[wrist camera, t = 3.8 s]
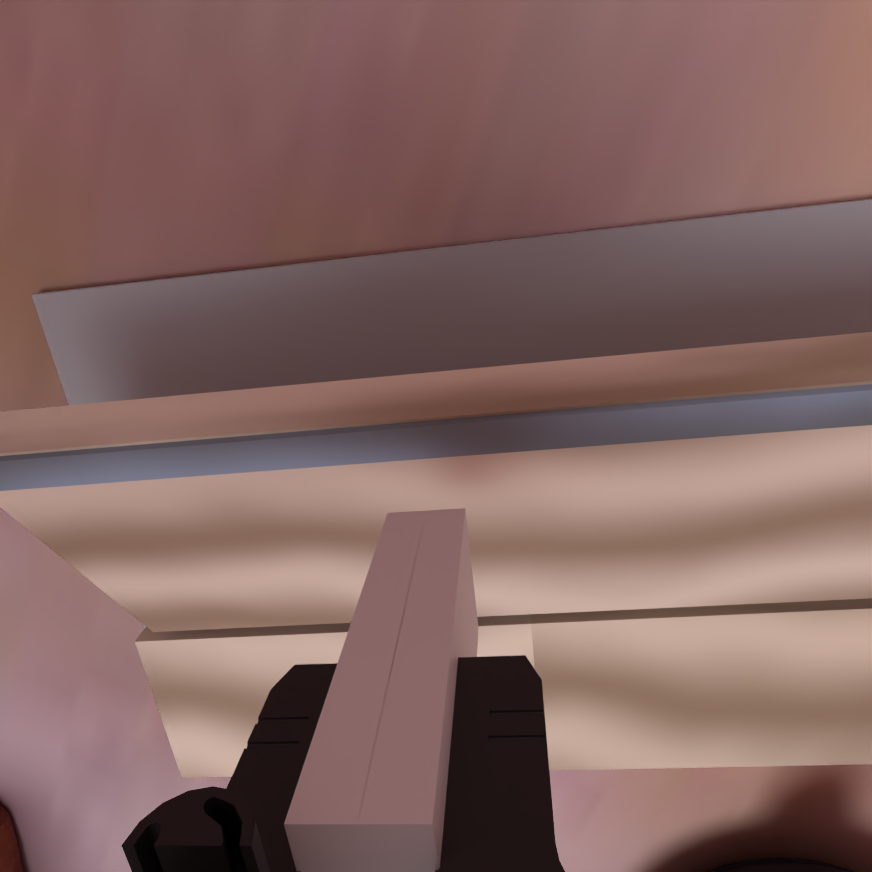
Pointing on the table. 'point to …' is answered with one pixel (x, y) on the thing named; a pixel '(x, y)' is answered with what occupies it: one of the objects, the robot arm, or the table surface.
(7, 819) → the wooden figurine
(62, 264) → the table surface
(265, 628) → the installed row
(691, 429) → the plank
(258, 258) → the table surface
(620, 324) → the tray
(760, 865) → the teapot
